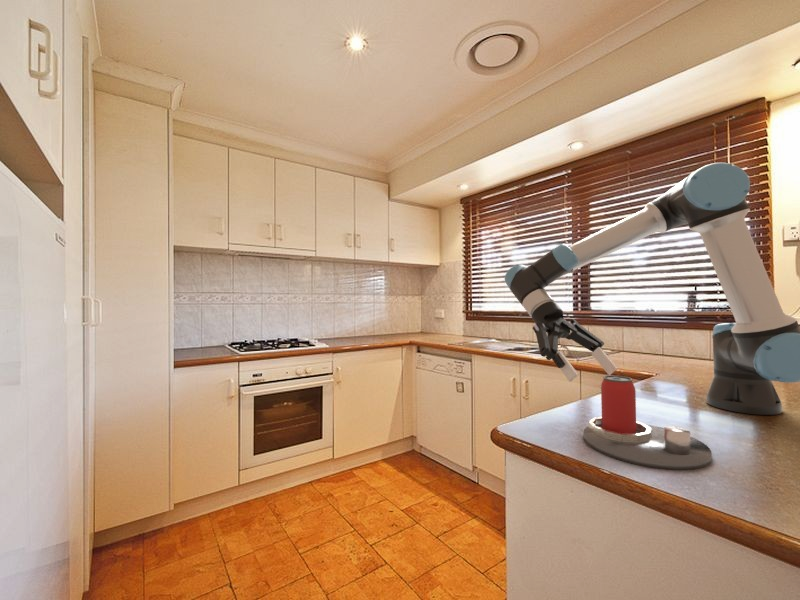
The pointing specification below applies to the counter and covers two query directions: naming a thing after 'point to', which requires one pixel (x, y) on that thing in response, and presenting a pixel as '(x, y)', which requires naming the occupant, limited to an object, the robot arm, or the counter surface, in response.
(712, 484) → the counter surface
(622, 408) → the beer can
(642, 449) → the carrier plate
